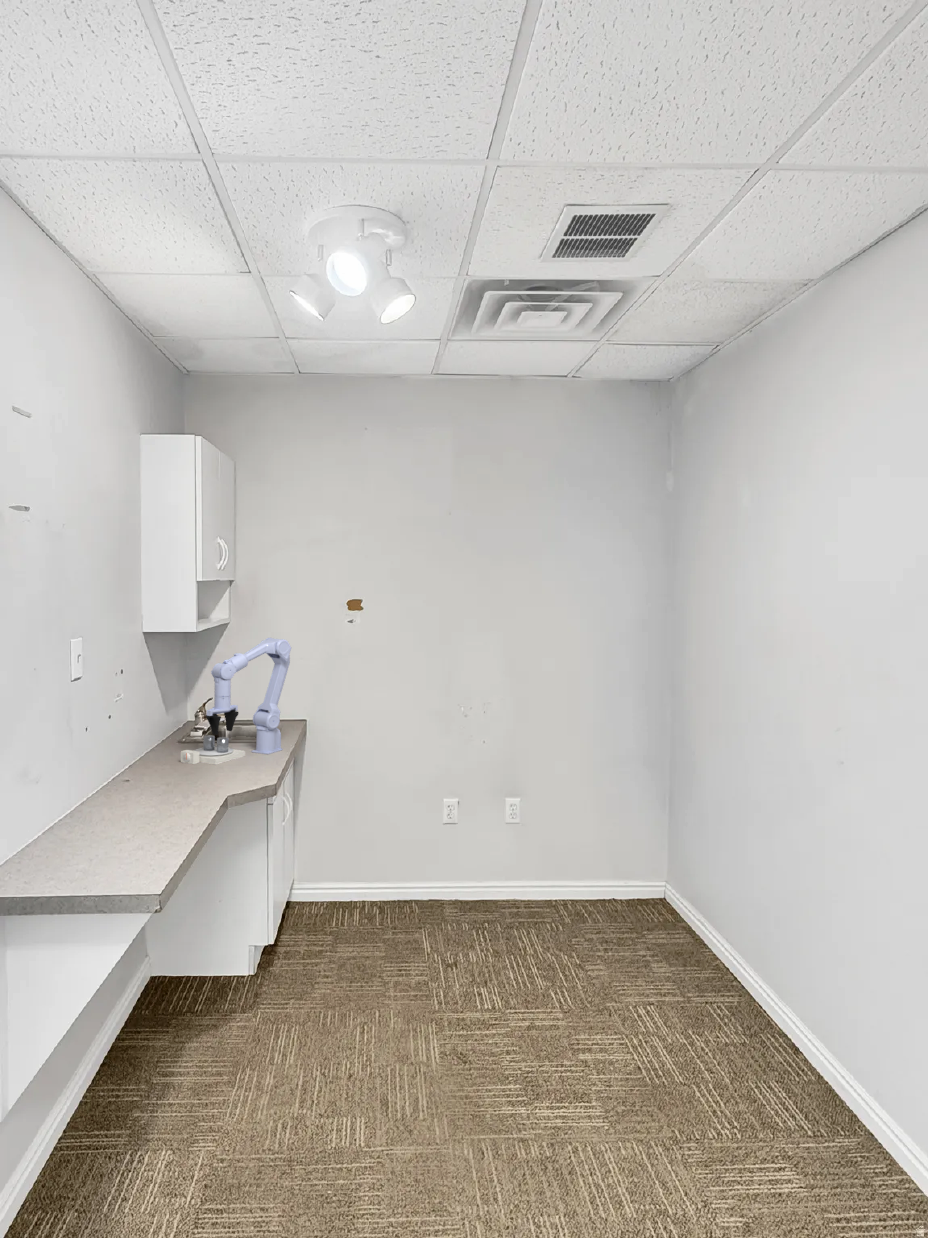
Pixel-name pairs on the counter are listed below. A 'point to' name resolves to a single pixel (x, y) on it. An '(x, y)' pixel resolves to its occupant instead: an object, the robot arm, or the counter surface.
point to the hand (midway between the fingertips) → (222, 732)
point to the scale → (210, 756)
